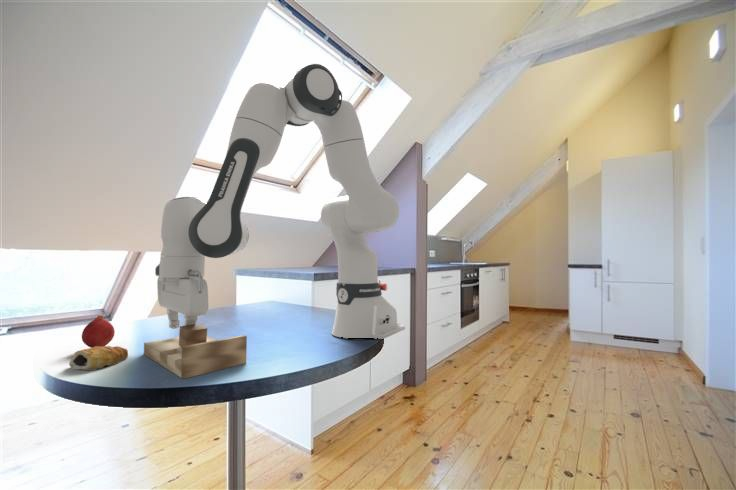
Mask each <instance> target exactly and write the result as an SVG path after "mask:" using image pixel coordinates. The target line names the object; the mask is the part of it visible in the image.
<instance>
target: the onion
mask: <svg viewBox="0 0 736 490" xmlns="http://www.w3.org/2000/svg"><path fill="white" fill-rule="evenodd" d="M114 337H115V327H114V326H113V324H112V323H111V322H110V321H109V320H107V319H104V315H103V314H98V315H97V316H96V317H95V318H93V320H91V321H90V322H89V323H88V324H86V326H84V328H83V330H82V333H81V340H82V342H83V344H84V345H86V346H87V347H89V348H92V347H95V346H101V347H103V346H108V345H109V344H110V342H111V341H113V339H114Z"/></svg>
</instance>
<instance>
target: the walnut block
mask: <svg viewBox="0 0 736 490" xmlns="http://www.w3.org/2000/svg"><path fill="white" fill-rule="evenodd" d="M178 335H179V336H178V337H179V346H180V347H182V346H188V345H193V344H198V343H204V342H207V336H208V327H206V326H204V325H203V324H201V323H196V324H194V325H187V326H185V325H179V333H178Z"/></svg>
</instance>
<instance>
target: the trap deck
mask: <svg viewBox="0 0 736 490" xmlns="http://www.w3.org/2000/svg"><path fill="white" fill-rule="evenodd" d="M247 336H248V335H246V334H242V335H237V336H230V337H227V338H221V339H217V338H213V337H211V336H208V335H207V342H204V343H198V344H193V345H188V346H182V347H180V346H179V336H177V337H171V338H165V339H159V340H153V341H146V342H143V355H145V356H146V357H148V358H149V359H150V360H152V361H154V362H155V363H158V364H159V365H160V366H162V367H164V368H165V369H166V370H168V371H170V372H172V373H173V374H175V375H176V376H178V377H179V378H180V379H183V380H185V379H188V378H192V377H197V376H199V375H201V376H202V375H205V374H208V373H213V372H216V371H220V370H224V369H228V368H232V367H236V366H240V365H244V364H247V345H248V343H247V339H248V337H247Z"/></svg>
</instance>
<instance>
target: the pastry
mask: <svg viewBox="0 0 736 490" xmlns="http://www.w3.org/2000/svg"><path fill="white" fill-rule="evenodd" d="M128 351H129V350H128V349H127V348H124V347H121V346H117V345H116V346H111V345H106V346H103V347H101V346H95V347H92V348H91V347H89V348H84V349H80V350H78V351H76V352H74V354H73V355H72V357H71V359H70V360H69V361H68V362H69V363H68V365H69V367H70V368H71V369H72V368H73V369H72V370H75V369H82V370H83V371H93V369H96V370H99V369H103V368H104V367H105V366H108V367H109V366H113V365H115V364H118V363H121V362H122V361H125V360H126V359H127V358H128V357H129V353H128ZM98 368H99V369H98ZM82 370H81V371H82Z"/></svg>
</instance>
